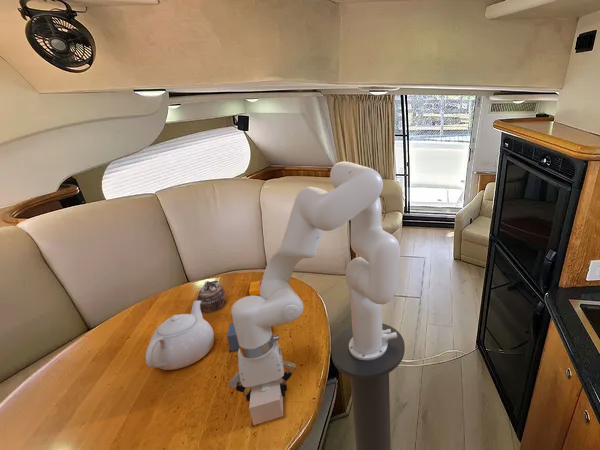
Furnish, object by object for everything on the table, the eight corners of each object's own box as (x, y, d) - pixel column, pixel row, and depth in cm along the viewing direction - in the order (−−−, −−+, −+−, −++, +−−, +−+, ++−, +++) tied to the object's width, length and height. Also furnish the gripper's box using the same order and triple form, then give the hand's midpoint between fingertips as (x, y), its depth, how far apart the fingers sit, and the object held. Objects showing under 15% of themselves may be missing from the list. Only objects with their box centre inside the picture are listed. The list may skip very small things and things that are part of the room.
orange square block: (249, 296, 129) (247, 287, 127) (251, 286, 136) (249, 277, 135) (270, 292, 131) (268, 284, 130) (271, 283, 138) (269, 274, 137)
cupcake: (203, 300, 126) (197, 279, 123) (229, 297, 129) (224, 275, 125) (195, 315, 118) (189, 292, 114) (224, 310, 120) (218, 288, 116)
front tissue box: (256, 386, 88) (252, 369, 85) (282, 379, 90) (279, 362, 88) (253, 425, 77) (248, 406, 75) (283, 416, 79) (279, 397, 77)
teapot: (144, 352, 100) (130, 317, 95) (208, 325, 112) (198, 293, 107) (155, 387, 88) (140, 349, 83) (225, 352, 100) (216, 317, 95)
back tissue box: (230, 351, 100) (226, 335, 98) (233, 337, 107) (229, 321, 104) (270, 342, 104) (267, 326, 102) (271, 329, 110) (268, 313, 108)
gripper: (293, 326, 83) (301, 376, 89) (219, 342, 77) (233, 394, 84) (294, 345, 76) (302, 398, 82) (214, 364, 71) (230, 419, 77)
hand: (268, 396), depth 83 cm, fingers closed on front tissue box, 7 cm apart
